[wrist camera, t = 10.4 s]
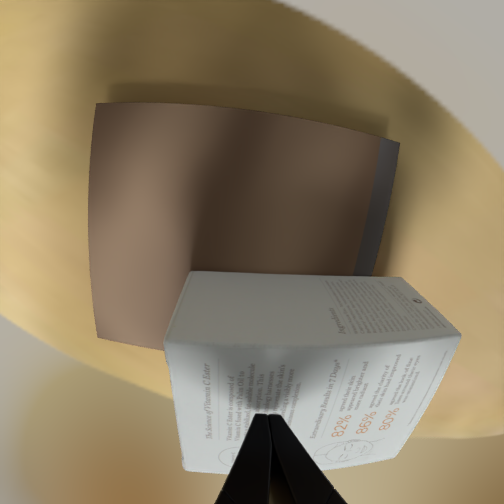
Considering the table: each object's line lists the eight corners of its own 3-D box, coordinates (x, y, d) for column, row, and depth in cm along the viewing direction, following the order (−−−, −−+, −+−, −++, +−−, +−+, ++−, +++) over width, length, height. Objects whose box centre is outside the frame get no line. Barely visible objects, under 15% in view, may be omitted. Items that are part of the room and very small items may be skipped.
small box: (405, 275, 14) (188, 264, 13) (468, 334, 9) (157, 336, 8) (366, 391, 16) (193, 392, 16) (395, 460, 11) (180, 471, 11)
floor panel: (385, 142, 13) (399, 143, 12) (334, 350, 17) (340, 366, 16) (109, 106, 12) (96, 103, 11) (107, 323, 16) (97, 337, 15)
